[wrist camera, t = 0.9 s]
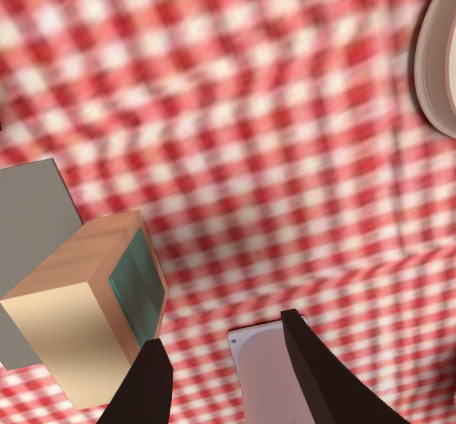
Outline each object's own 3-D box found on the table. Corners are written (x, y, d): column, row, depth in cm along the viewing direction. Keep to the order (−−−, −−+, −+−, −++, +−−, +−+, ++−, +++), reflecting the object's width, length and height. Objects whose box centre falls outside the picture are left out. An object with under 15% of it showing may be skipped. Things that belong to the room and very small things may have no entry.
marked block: (171, 289, 22) (149, 394, 14) (125, 299, 22) (76, 410, 14) (141, 208, 19) (91, 280, 11) (89, 220, 19) (-2, 301, 11)
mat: (138, 340, 24) (138, 342, 24) (9, 368, 24) (7, 370, 24) (52, 158, 17) (51, 158, 17) (-127, 197, 17) (-131, 198, 17)
